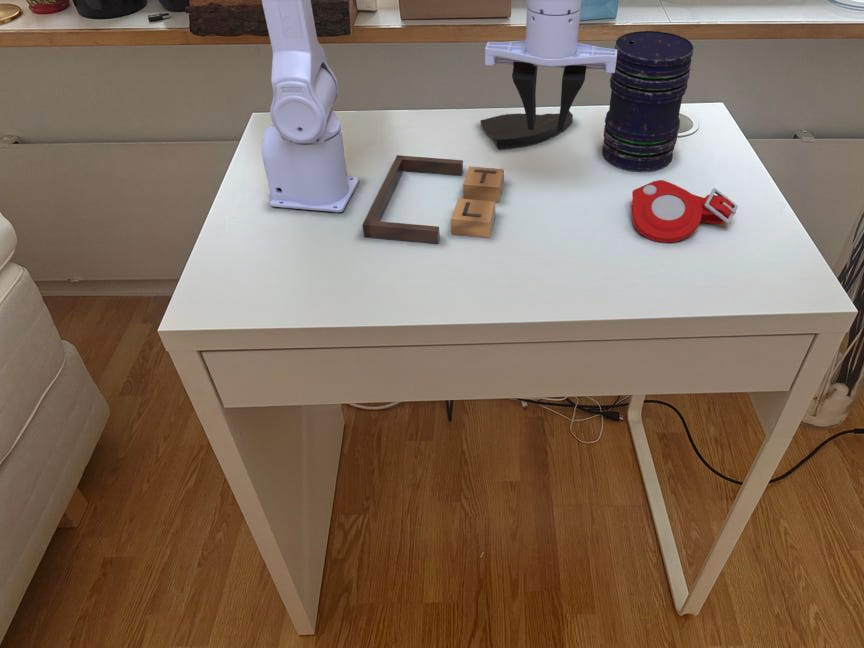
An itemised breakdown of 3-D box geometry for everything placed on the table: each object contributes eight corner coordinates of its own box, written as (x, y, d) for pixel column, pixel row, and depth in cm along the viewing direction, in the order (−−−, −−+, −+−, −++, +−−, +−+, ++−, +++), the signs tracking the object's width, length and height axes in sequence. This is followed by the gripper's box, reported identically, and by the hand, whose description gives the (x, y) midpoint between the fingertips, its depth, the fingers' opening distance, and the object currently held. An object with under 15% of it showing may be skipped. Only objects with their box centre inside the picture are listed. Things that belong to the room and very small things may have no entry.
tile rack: (363, 237, 88) (362, 224, 86) (397, 167, 100) (396, 154, 98) (438, 244, 86) (437, 231, 85) (463, 172, 99) (463, 160, 97)
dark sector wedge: (585, 137, 106) (586, 127, 105) (495, 151, 103) (495, 140, 102) (563, 113, 112) (564, 102, 110) (478, 125, 109) (478, 115, 107)
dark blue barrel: (675, 142, 105) (696, 34, 94) (671, 176, 98) (693, 63, 87) (605, 134, 106) (618, 27, 96) (596, 167, 100) (609, 56, 89)
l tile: (451, 234, 88) (451, 218, 86) (458, 213, 91) (458, 197, 90) (489, 237, 87) (489, 221, 86) (495, 217, 91) (495, 200, 89)
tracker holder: (657, 245, 84) (613, 187, 89) (653, 268, 88) (612, 211, 93) (748, 203, 85) (701, 148, 90) (741, 227, 89) (695, 173, 94)
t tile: (463, 199, 94) (462, 183, 92) (469, 181, 97) (469, 165, 95) (499, 202, 93) (499, 186, 92) (503, 184, 96) (504, 168, 95)
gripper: (623, -3, 80) (608, 116, 90) (491, -9, 82) (490, 108, 91) (621, 20, 75) (606, 143, 85) (482, 12, 77) (482, 134, 86)
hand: (546, 127), depth 88 cm, fingers open, 3 cm apart
